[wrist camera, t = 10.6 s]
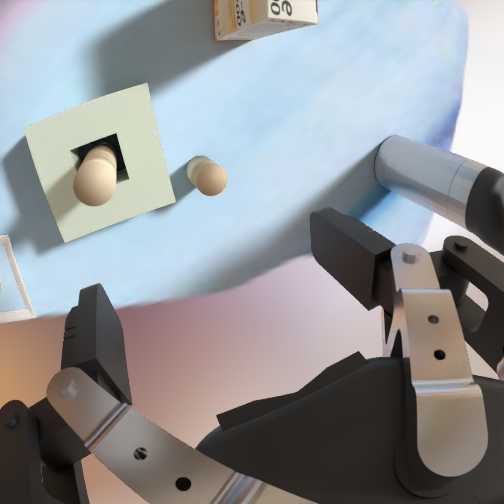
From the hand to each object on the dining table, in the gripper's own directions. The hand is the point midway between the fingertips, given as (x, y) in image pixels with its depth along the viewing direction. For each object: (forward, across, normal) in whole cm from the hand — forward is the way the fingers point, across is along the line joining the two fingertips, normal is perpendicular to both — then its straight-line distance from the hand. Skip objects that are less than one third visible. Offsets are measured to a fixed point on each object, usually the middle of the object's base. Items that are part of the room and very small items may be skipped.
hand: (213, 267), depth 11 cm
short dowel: (+25, -5, +4) cm, 26 cm away
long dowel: (+25, +5, -1) cm, 25 cm away
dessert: (+25, +26, +8) cm, 37 cm away
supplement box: (+25, -12, -14) cm, 31 cm away
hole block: (+25, +5, -1) cm, 25 cm away
